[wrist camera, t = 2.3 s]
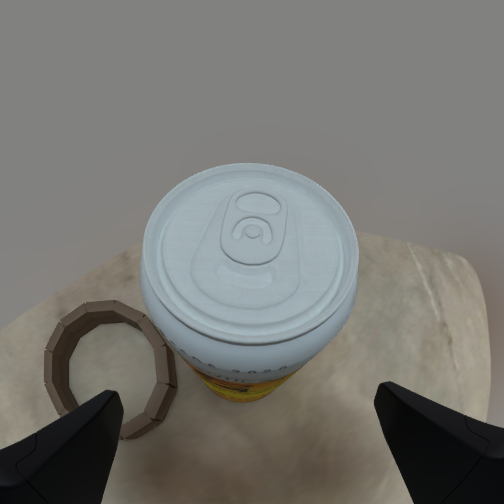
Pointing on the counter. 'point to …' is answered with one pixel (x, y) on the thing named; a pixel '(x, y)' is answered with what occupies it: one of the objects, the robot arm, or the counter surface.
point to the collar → (81, 324)
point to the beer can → (248, 274)
